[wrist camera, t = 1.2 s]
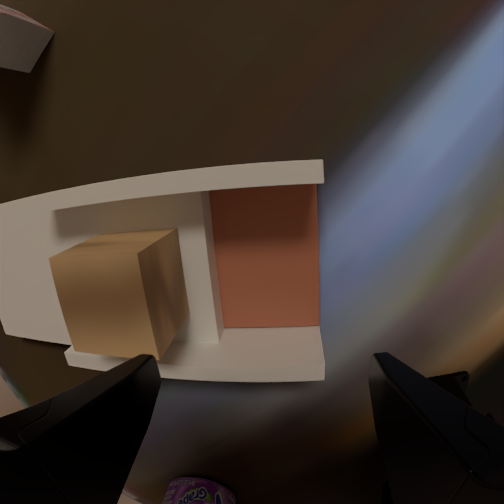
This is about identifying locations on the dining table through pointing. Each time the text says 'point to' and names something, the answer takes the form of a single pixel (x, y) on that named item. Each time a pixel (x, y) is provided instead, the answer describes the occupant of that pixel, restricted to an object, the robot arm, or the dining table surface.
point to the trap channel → (189, 265)
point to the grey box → (21, 40)
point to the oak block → (122, 292)
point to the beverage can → (197, 492)
